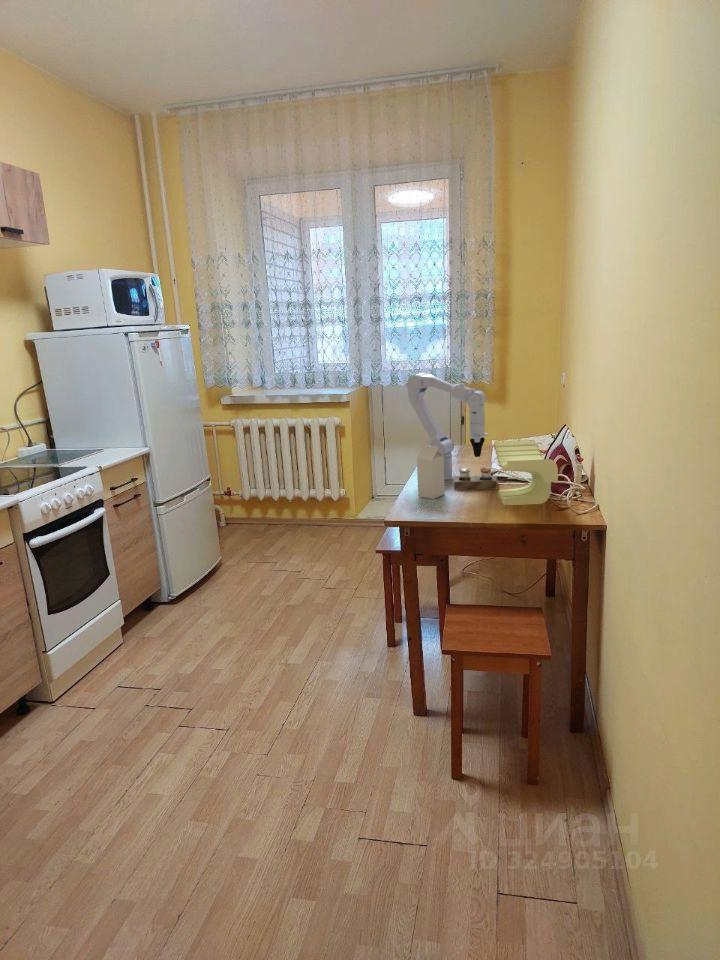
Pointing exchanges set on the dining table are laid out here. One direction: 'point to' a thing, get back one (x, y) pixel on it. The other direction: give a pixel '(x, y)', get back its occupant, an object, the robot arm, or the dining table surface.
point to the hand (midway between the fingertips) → (477, 456)
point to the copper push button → (485, 473)
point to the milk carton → (430, 472)
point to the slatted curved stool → (526, 460)
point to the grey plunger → (464, 473)
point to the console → (475, 483)
